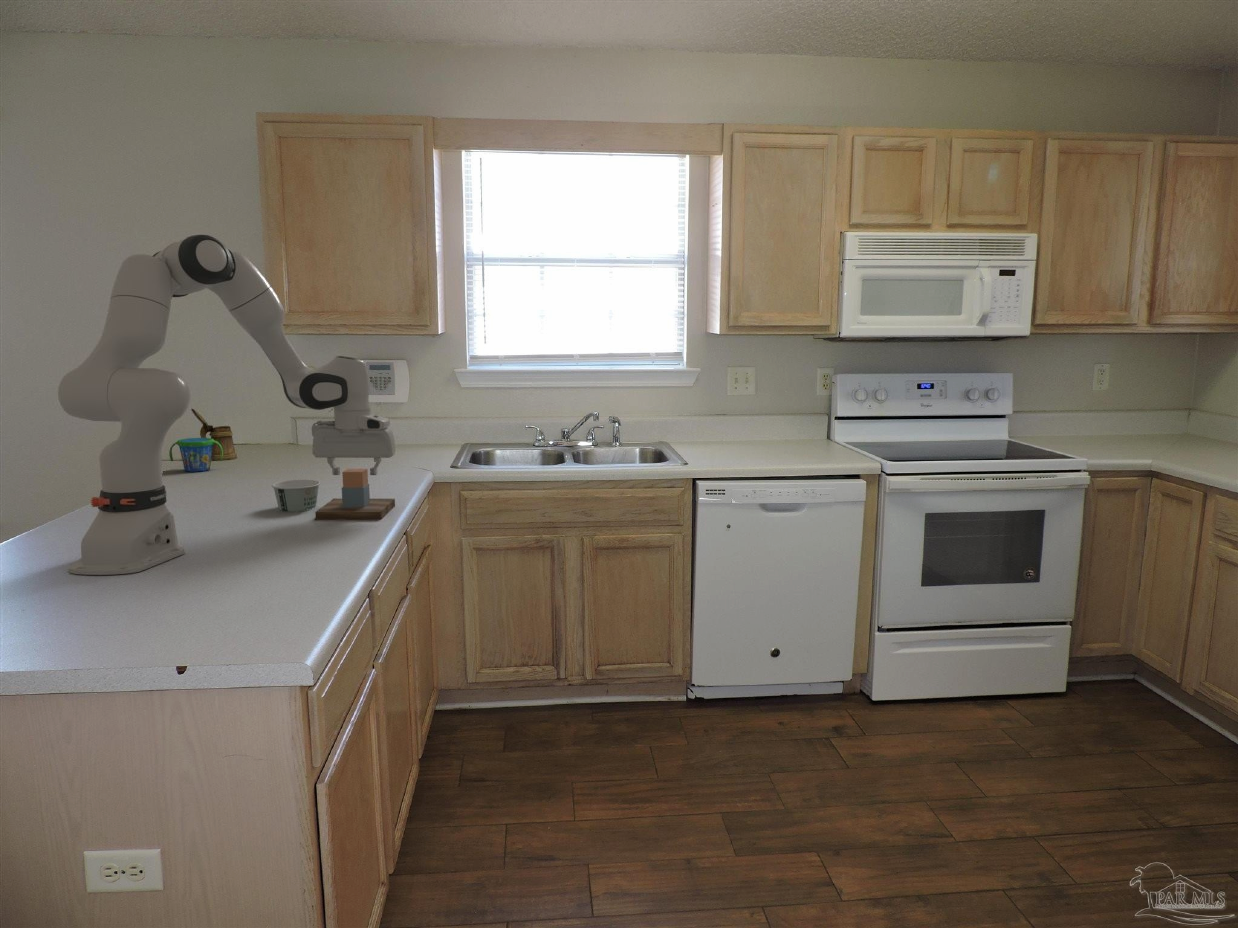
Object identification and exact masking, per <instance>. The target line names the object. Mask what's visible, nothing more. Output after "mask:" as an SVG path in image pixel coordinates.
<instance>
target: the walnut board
mask: <svg viewBox="0 0 1238 928" xmlns="http://www.w3.org/2000/svg"><path fill="white" fill-rule="evenodd" d="M395 507H396V499H395V498H370V503H369V504H368V505H367V506H365V507H342V498H333V499H332V500H330V501H328V502H327V503H326V504H324V505H323V506H320V508H318V509H317V510H316V511H315V513H314V515H315V520H316V519H318V520H317V521H320V520H323V521H326V520H329V519H330V520H332V521H333V520H334V521H335V520H336V519H346V520H347V521H350V520H351V521H355V520H358V521H359V520H361V521H363V520H366V521H367V520H369V521H370V520H371V521H372V520H373V521H374V520H376V521H377V520H379V521H381V520H382V519H384V517H386V516H387V515H388V513H390V512H391V511H392V509H394V508H395ZM346 520H345V521H346ZM336 521H337V520H336Z"/></svg>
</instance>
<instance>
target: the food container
mask: <svg viewBox="0 0 1238 928" xmlns="http://www.w3.org/2000/svg"><path fill="white" fill-rule="evenodd" d="M320 485H321V482H320V481H319V480H315V479H289V480H288V479H287V480H281V481H277V482H274V483H272V484H271V487H272V488H273V490H274V495H275V499H276V503H277V507H278V510H279V509H280V511H283V512H289V511H295V512H304V511H303V510H306V511H308V510H307V509H311V510H313V509H312V508H314V509H316V508H317V502H318V494H319V486H320ZM315 507H316V508H315Z"/></svg>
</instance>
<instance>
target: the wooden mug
mask: <svg viewBox="0 0 1238 928" xmlns="http://www.w3.org/2000/svg"><path fill="white" fill-rule="evenodd" d="M191 413H193V415H194V416H195V418H197V420H199V422H200V423H201V424H202V426H201V428H200V431H199V434H200V438H207V433H209V437H210V438H212V439H213V440H214V441H217V442H218V443H219V444H220V445H221V446H222V449H223V457H222V460H221V459H220V458H221V449H220V447H219V446H218V445H217V444H216V443H214V444H213V449H212V455H211V461H231V460H235V459H238V455H237V453H236V450H235V445H234V439H233V434H234V433H233V430H232V429H231V426H229V425H222V426H221V425H220V426H215V427H214V425H212V424H208V422H207V421H206V419H205V418H204V417H203V416H202V415H201V414H200V413H199V412H198V411H196V409H194V408H191ZM230 459H231V460H230Z"/></svg>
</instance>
